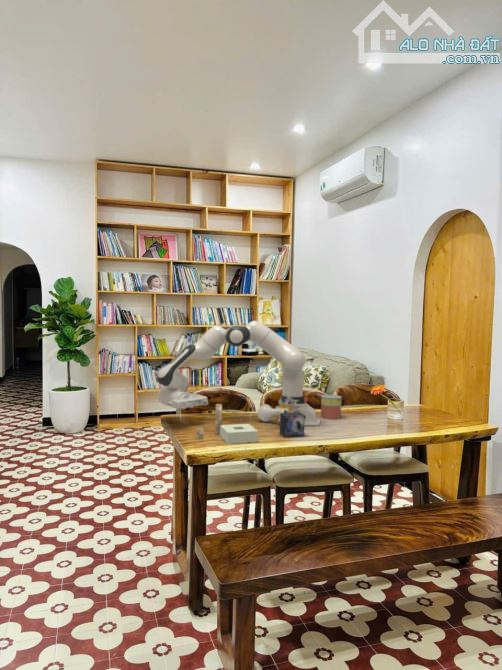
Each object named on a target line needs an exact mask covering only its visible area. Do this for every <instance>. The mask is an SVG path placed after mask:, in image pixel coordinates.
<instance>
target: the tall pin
mask: <svg viewBox="0 0 502 670" xmlns="http://www.w3.org/2000/svg"><path fill="white" fill-rule="evenodd" d="M222 411H223V404H222V403H216V404H215V417H214V420H215V422H214V427H215V428H214V434H215V435H220V425H223V424H222V423H223V421H222V420H223V419H222V418H223V417H222V416H223V415H222V413H223V412H222Z"/></svg>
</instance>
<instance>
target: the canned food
mask: <svg viewBox="0 0 502 670" xmlns="http://www.w3.org/2000/svg"><path fill="white" fill-rule="evenodd" d="M320 398H321V399H320V401H321V402H320V403H321V405H320V418H321V419H323V420H326V421H327V420H328V421H337V420H338V419H339V420H341V419H342V398H343V397H342V396H341V395H337V394H322V395H321V397H320Z"/></svg>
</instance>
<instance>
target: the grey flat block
mask: <svg viewBox="0 0 502 670" xmlns="http://www.w3.org/2000/svg"><path fill="white" fill-rule="evenodd" d="M219 437H220V438H222V440H223V441H224V442H225V443H226V444H227V445H232V444H235V445H236V444H247V443H248V442H251V443H258V441H259V440H258V439H259V430H257V429H256V428H255V427H253V426H252V425H251V424H250V423H237V424H222V425H220V434H219ZM248 444H249V443H248Z"/></svg>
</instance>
